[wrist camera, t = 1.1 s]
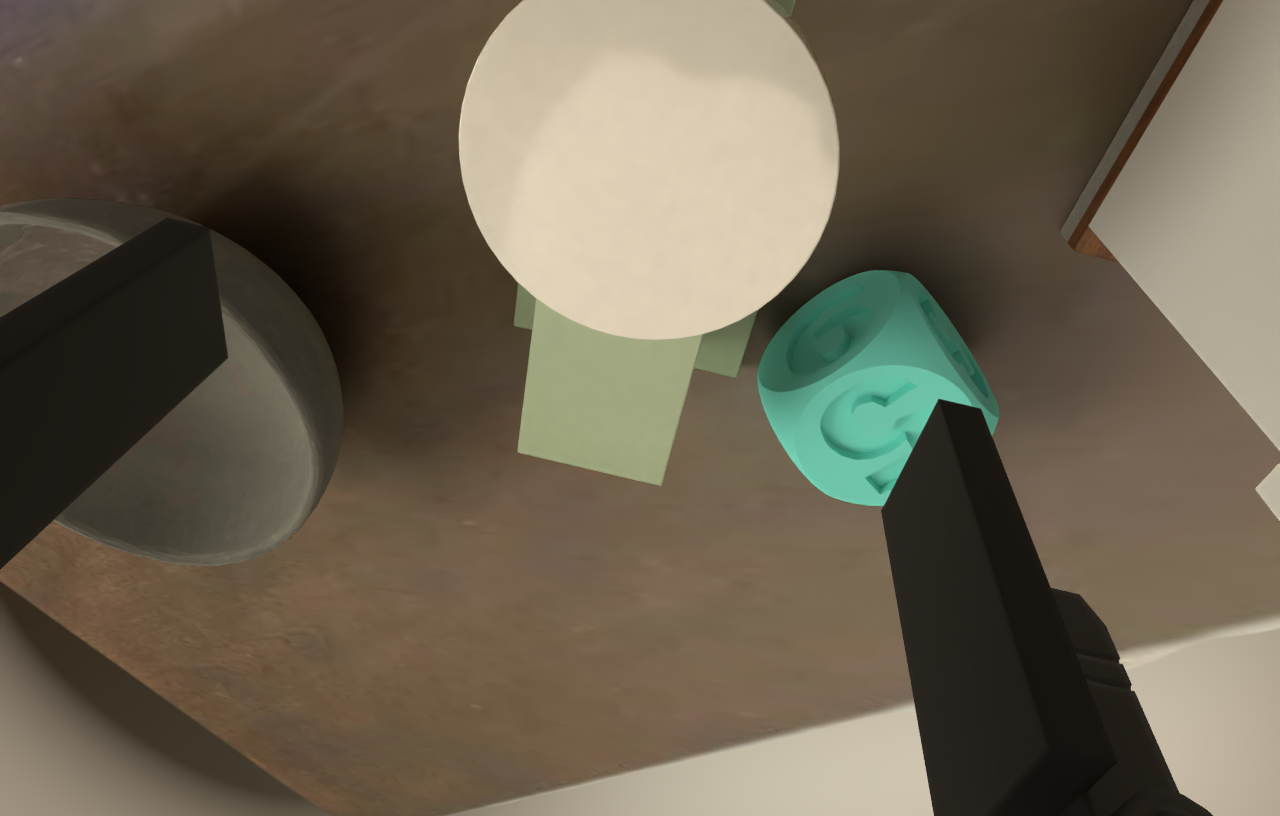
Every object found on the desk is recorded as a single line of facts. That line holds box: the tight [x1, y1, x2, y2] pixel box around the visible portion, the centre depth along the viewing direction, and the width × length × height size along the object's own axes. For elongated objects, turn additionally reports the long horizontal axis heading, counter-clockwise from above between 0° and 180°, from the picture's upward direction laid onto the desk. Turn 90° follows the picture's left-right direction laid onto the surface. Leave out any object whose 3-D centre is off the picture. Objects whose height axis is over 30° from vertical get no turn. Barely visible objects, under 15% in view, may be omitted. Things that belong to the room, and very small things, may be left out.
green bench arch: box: [514, 0, 795, 486], centre depth 29 cm, size 28×12×12 cm, turn 169°
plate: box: [459, 0, 839, 340], centre depth 23 cm, size 11×11×2 cm
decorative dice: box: [757, 270, 1000, 506], centre depth 37 cm, size 8×8×8 cm
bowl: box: [0, 198, 344, 566], centre depth 41 cm, size 20×20×10 cm
